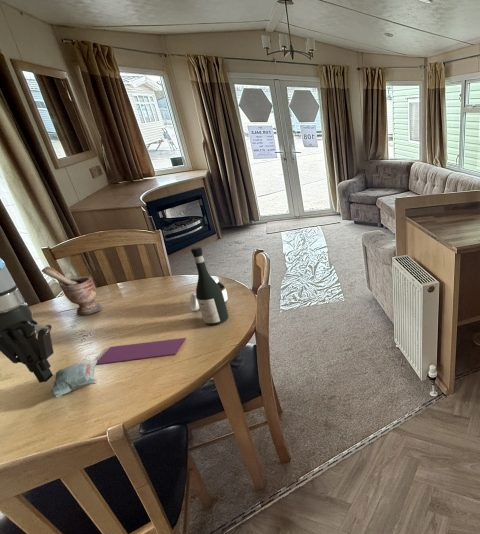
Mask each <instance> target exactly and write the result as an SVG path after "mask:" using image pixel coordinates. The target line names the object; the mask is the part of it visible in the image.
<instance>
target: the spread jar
mask: <svg viewBox="0 0 480 534" xmlns="http://www.w3.org/2000/svg"><path fill="white" fill-rule="evenodd" d="M210 276H211V277H212V278H213V280H214V281H215V282H216V283H217V284H218V285H219V287H220V289H221V291H222V294H223V297H224V301H225V304H226V303H227V301H228V300H229V298H228V293H227V288H226V287H225V285H224V284H223V283H222V282H221V281H220V280H219V277H218V276H216V275H210ZM189 307H190V308H189V309H190V310H191V311H192V312H198V311H200V307H199V304H198V301H197V298H196V293H192V294H191V295H190V297H189Z"/></svg>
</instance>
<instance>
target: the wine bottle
mask: <svg viewBox="0 0 480 534" xmlns="http://www.w3.org/2000/svg"><path fill="white" fill-rule="evenodd" d="M190 251H191V254H192V257H193V259H194V263H195V266H196V269H197V275H198V276H197V283H196V287H195V294H196V298H197V301H198V304H199V311H200V314H201V317H202V320H203V323H204V324H205V325H208V326H217V325H221V324H223V323H225V322H226V321H227V320H228V319H229V312H228V308H227V305H226V303H225V301H224V297H223V294H222V291H221V289H220V287H219V285H218V284H217V283H216V282H215V281H214V280H213V278H212V277H211V276H212V275H210V273H209V271H208V269H207V265H206V263H205V258H204V255H203V249H202V247H201V246H195V247H191V248H190Z"/></svg>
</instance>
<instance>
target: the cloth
mask: <svg viewBox="0 0 480 534" xmlns="http://www.w3.org/2000/svg"><path fill="white" fill-rule="evenodd" d="M186 339H187V337H181V338H180V337H179V338H172V339H164V340H163V339H162V340H156V341H148V342H139V343H130V344H121V345H115V346H114V345H113V346H110V347H109V348H107V350H106V351H105V352H104V353H103V354H102V355H101V356H100V357H99V358H98V359H97V363H96V365H95V366H99V365H100V364H101V365H107V364H114V363H122V362H123V363H124V362H129V361H130V362H131V361H137V360H146V359H153V358H161V357H169V356H176V355H177V353H178V352H179V350H180V349H181V347H182V346H183V344H184V343H185V341H186ZM101 365H100V366H101Z"/></svg>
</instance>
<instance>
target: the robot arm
mask: <svg viewBox="0 0 480 534" xmlns="http://www.w3.org/2000/svg"><path fill="white" fill-rule="evenodd" d="M52 328H53V327H52V325H51V324H46V325H42V324H38V322H37V321H36V319H33V313H32V311H31V309H30V307H29V305H28V303H27V302H25V298H24V296H23V295H22V292H21V291H20V290H19V288H18V286H17V284H16V282H15V281H14V278H13V277H12V274H11V272H9V269H8V268H7V266H6V263H5V261H4V260H3V259H2V258H1V257H0V353H1V354H3V355H4V356H5V357H6V358H7V359H8V360H9V361H10V362H11V363H12V364H18V363H19V364H20V363H21V364H23V365H25V367H26V368H27V370H28V371H29V373H33V375H34V376H35V378H36V380H37V382H38V383H39V384H40V383H41V384H42V383H47V382H48V381H49V380H50V379H51V378H52V377H53V376H54V374H53V372H52V370H51V364H50V362H49V360H48V359H49V358H50V357H51V356H53V354H54V348H53V343H52V336H51V331H52Z"/></svg>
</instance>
